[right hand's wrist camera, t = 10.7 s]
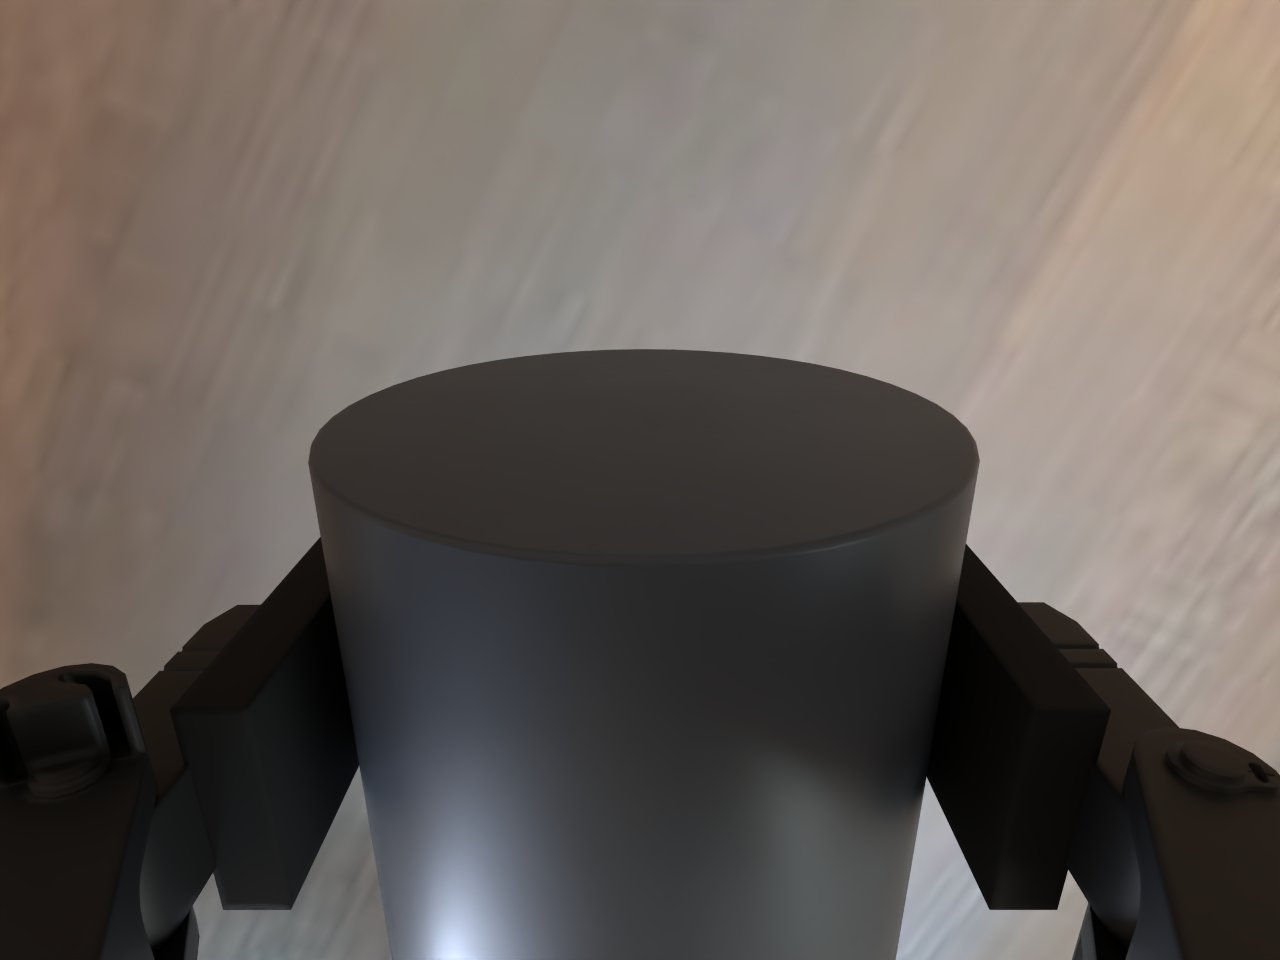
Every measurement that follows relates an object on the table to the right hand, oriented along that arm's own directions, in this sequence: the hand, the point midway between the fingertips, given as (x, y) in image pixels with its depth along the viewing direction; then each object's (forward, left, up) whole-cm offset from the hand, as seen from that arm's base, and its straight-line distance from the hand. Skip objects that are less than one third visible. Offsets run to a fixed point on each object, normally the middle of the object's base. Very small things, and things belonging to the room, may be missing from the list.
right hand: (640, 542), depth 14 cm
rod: (+7, +3, 0) cm, 8 cm away
